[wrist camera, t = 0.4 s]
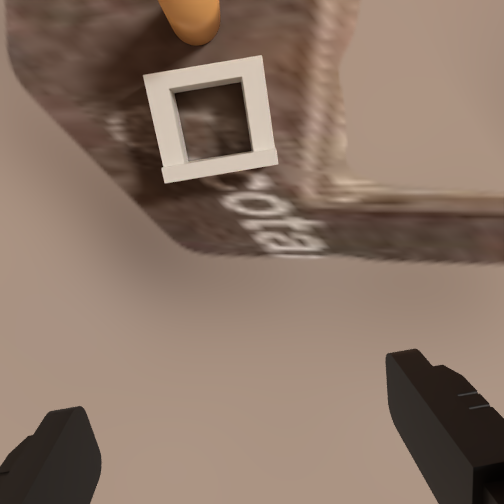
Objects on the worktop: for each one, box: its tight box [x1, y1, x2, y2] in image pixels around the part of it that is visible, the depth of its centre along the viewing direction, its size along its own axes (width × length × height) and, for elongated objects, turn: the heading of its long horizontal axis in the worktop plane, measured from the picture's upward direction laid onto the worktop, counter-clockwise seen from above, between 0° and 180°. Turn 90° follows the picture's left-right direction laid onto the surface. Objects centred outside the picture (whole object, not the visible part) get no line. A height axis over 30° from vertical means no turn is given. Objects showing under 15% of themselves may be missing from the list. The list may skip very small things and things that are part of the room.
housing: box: [143, 55, 278, 183], centre depth 31 cm, size 8×9×4 cm
